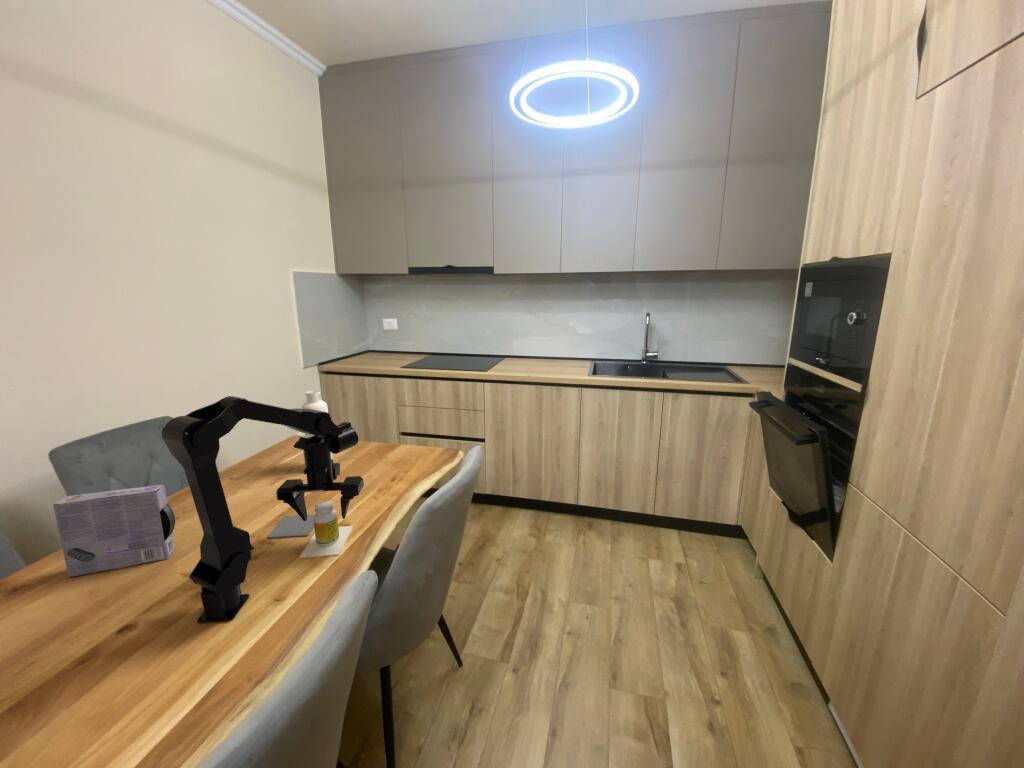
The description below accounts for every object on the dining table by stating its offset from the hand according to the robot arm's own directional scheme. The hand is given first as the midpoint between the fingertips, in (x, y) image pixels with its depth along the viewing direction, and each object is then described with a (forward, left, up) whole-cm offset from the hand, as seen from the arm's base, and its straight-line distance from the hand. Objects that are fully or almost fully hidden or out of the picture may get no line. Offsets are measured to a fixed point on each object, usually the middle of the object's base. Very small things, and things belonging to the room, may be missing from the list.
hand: (325, 519), depth 100 cm
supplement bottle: (0, 0, -6) cm, 6 cm away
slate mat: (+8, +11, -6) cm, 15 cm away
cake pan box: (-3, +44, -7) cm, 44 cm away
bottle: (+46, +17, -6) cm, 50 cm away
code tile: (0, 0, -6) cm, 6 cm away
